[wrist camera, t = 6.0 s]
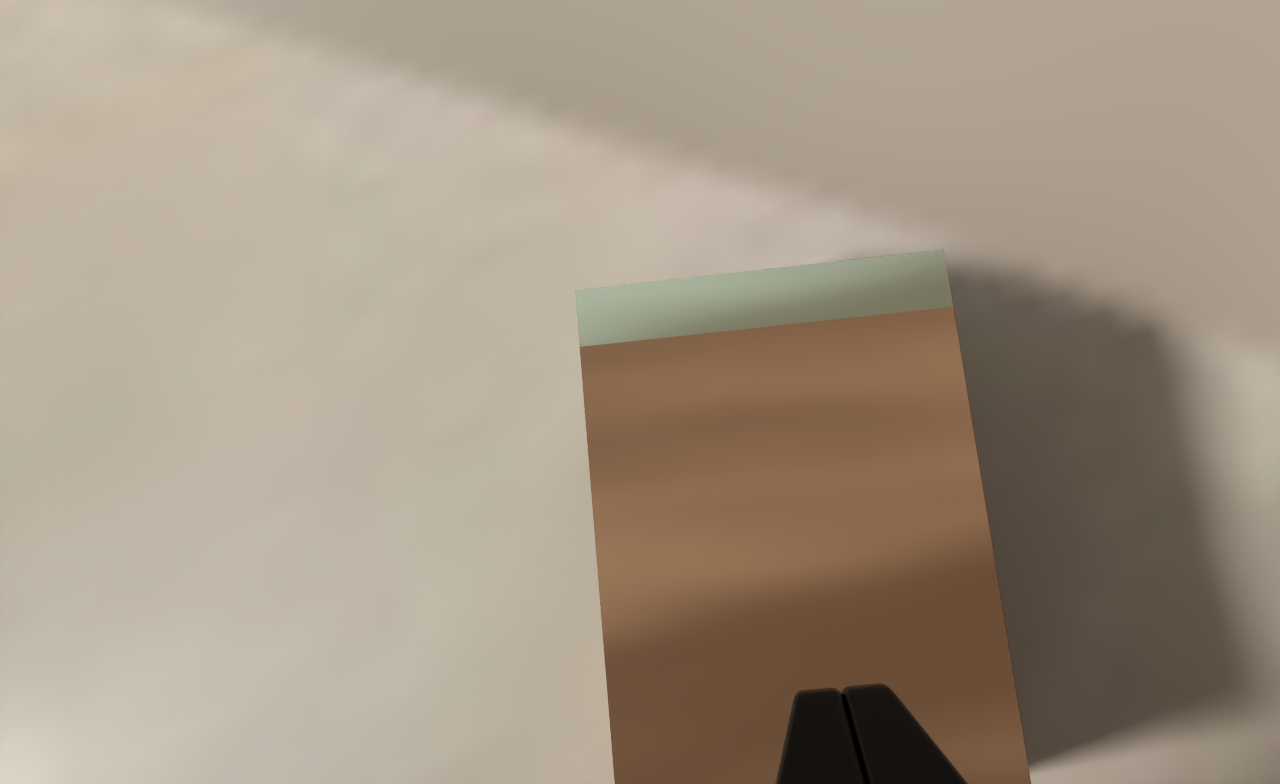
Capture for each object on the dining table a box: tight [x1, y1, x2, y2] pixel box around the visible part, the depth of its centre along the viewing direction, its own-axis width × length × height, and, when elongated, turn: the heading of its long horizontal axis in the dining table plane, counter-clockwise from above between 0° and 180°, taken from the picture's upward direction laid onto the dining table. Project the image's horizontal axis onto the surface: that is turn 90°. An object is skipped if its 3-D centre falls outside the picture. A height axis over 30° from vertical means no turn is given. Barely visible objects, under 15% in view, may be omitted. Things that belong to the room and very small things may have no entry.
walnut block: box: [575, 250, 1031, 784], centre depth 14 cm, size 4×5×8 cm
